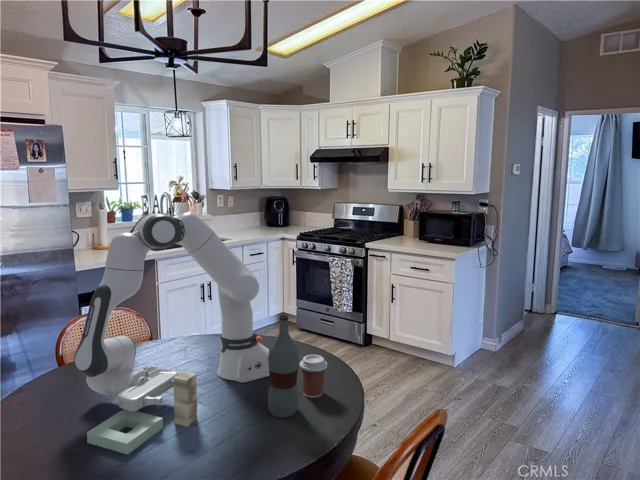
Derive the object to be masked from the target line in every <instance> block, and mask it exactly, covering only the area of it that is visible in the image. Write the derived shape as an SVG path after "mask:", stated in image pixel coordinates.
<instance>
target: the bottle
mask: <svg viewBox="0 0 640 480" xmlns="http://www.w3.org/2000/svg"><path fill="white" fill-rule="evenodd" d="M278 317H279V325H278V326H279V329H278V335H277V336H276V338H275V339H274V340H273V342H272V344H271V345H270V346H269V356H268V365H269V376H268V378H269V387H268V388H269V389H268V392H267V393H268V395H267V404H268V410H269V413H270V415H271V416H273V417H276V418H280V419H281V418H283V417H285V418H289V416H290V417H291V416H293V415H295V414H296V413H297V410H298V406H299V391H298V383H297V382H298V373H299V365H300V358H299V349H298V346H297V344H296V343H295V342H294V340H293V338H292V337H291V335H290V333H289V315H287V314H281V315H279V316H278ZM295 412H296V413H295Z"/></svg>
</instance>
